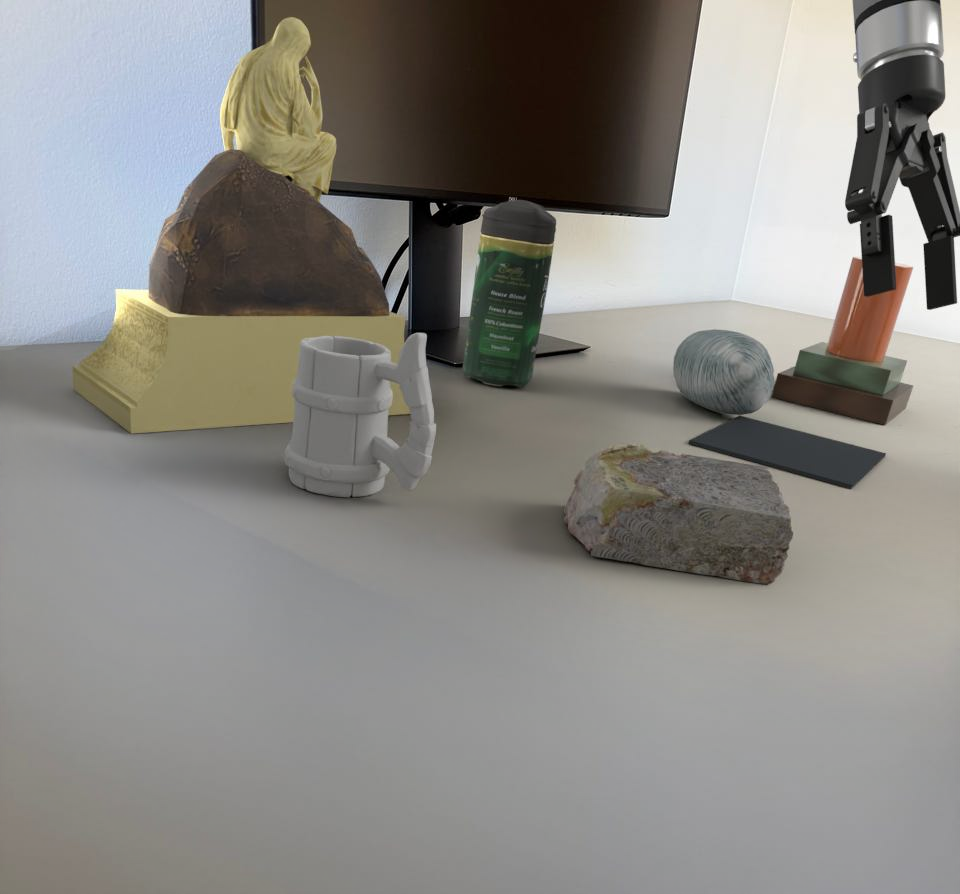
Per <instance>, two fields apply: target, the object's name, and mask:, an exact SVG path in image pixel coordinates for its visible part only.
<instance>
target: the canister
mask: <svg viewBox="0 0 960 894" xmlns="http://www.w3.org/2000/svg"><path fill="white" fill-rule="evenodd" d="M913 270H914V266H912V265H908V264H905V263H901V262H896V261H895V273H896V289H895V290H892V291H888V292H884V293H880V294H877V295H873V296H869V297H866V296H864V287H863V270H862V256H852V259H851V262H850V266H849V268H848V272H847V276H846V279H845V283H844V286H843V289H842V293H841V297H840V300H839V303H838V307H837V310H836V314H835V317H834V321H833V323H832V326H831V331H830V334H829V338H828V341H827V343H828V344H827V348H826V351H828V352H830V353H832V354H835V355H838V356H842V357H846V358H850V359H855V360H861V361H868V362H882V361H884V358H885V356H887V355H886V354H887V351H888V348H889V346H890V343H891V339H892V336H893V333H894V330H895V326H896V323H897V320H898V318H899V314H900V310H901V307H902V306H903V305H902V304H903V301H904V298H905V295H906V292H907V289H908V286H909V282H910V279H911V277H912V273H913Z"/></svg>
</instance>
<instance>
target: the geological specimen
mask: <svg viewBox="0 0 960 894" xmlns="http://www.w3.org/2000/svg"><path fill="white" fill-rule="evenodd" d="M768 467H769V466H764V465H756V464H750V463H744V462H738V461H731V460H723V459H719V458H711V457H705V456H698V455H692V454H687V453H681V454H680V455H678V454H675V453H673V452H670V451H668V450H663V449H661V450H659V451H656V452H653V451H651V450H649V449H648V447H646V446H645V445H644V444H641V443H630V442H621V443H619V444H615V445H610V446H607V447H603V448H601V449H599V450H597V451H595V452H594V453H593V454H592V455H591V456H589V457H588V458H587V459H586V460H585V461H584V467H583V468H582V469H580V471H579V472H578V473H577V475H576V476H575V477H574V480H573V481H574V487H573V490H572V492H571V494H570V496H569V497H568V500H567V502H566V504H565V505H564V506H563V509H564V511H563V513H564V514H565V516H564V519H563V522H564V523H565V524H566V525H567V530H568V532H569V534H571V535H572V536H574V537H575V538H576V539H577V540H578V541H579V542H580V543H581V544H582V545H583V546H584V547H585V549H586V550H587V551H588V552H590V556H591V557H595V558H596V557H597V558H601V559H609V560H614V561H619V562H620V561H621V562H628V563H634V564H639V565H643V566H648V567H654V568H660V569H667V570H674V571H679V572H684V573H691V574H697V575H698V574H699V575H705V576H714V577H715V576H716V577H719V578H723V579H724V578H725V579H730V580H735V581H740V582H746V583H747V582H748V583H753V584H754V583H755V584H761V585H770V584H773V583H774V582H775V581H776V578H778V577H779V576H780V574H782V572H783V570H784V569H785V566H786V560H787V559H788V557H789V554H788V551H789V550H790V544H791V541H792V540H793V537H794V532H793V530H792V524H791V523H792V518H791V516H790V507H789V506H788V505H787V504H785V500H784V495H783V493H782V491H781V489H780V486H779V484H778V483H776V482H775V481H774V480H773V475H772V473H771V471H770V469H769V468H768Z"/></svg>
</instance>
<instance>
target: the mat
mask: <svg viewBox="0 0 960 894" xmlns="http://www.w3.org/2000/svg"><path fill="white" fill-rule="evenodd" d="M688 445H691V446H696V447H699V448H702V449H706V450H709V451H714V452H717V453H720V454H724V455H727V456H731V457H735V458H739V459H742V460H746V461H748V462H752V463H756V464H759V465H762V466H766V467H771V468H774V469H777V470H782V471H784V472H788V473H792V474H795V475H799V476H802V477H806V478H810V479H814V480H818V481H821V482H825V483H829V484H832V485H835V486H839V487H842V488H846V489H850V490H851V489H852V490H853V488H854V487H855V486H857V484H858V483H859V482H860V481H861V480H862V479H863V478H864V477H865V476H867V475H868V474H869V473H870V472H871V471H872V470H873V469H874V468H875V467H876V466H877V465H878V464H879V463H880V462H881V461H882V460H884V458H886V454H887V453H886V452H883V451H878V450H875V449H871V448H867V447H863V446H859V445H855V444H851V443H847V442H844V441H840V440H836V439H833V438H829V437H825V436H821V435H817V434H814V433H808V432H805V431H801V430H797V429H793V428H789V427H786V426H782V425H778V424H774V423H770V422H767V421H766V422H765V421H763V420H760V419H759V420H758V419H755V418H751V417H748V416H744V415H737V416H736V417H734V418H731V419H730V420H727V421H725V422H724V423H721V424H720V425H717V426H715V427H713V428H711V429H708V430H707V431H705V432H703V433H701V434H698V435H696V436H695V437H693V438H690V439H689V440H688Z"/></svg>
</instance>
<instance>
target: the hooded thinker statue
mask: <svg viewBox="0 0 960 894" xmlns="http://www.w3.org/2000/svg"><path fill="white" fill-rule="evenodd" d="M311 45H312V41H311V36H310V32H309V29H308V28H307V26H306V24H305V23H304V22H303V21H302V20H301V19H299V18H296V17H293V16H289V17H286V18H285V17H284V19H281V21H280V22H279V23H278V25H277V26H276V28H275V31H274V34H273V36H272V37H271V39H269V41H267V42H266V43H265V44H263V45H261V46H259V47H256V48H254V49H252V50H250V51H248V52H247V53H245V54H244V55H242V57H241V58H240V60H239V61H238V63H237V65H236V67H235V68H234V70H233V71H232V73H231V76H230V78H229V80H228V82H227V86H226V89H225V92H224V95H223V98H222V101H221V103H220V104H221V105H220V108H219V109H220V110H219V124H220V130H221V136H222V144H223V148H224V151H222V152H219V153H217V154H215V155H214V156H213V157H212V158H211V159H210V160H209V161H208V163H207V164H206V165H205V166H204V167H203V168H202V169H201V171H200V172H199V173H198V174H197V175H196V176H195V178H193V180H192V181H191V182H190V183H188V185H187V187H186V188H185V189H184V191H183V193H182V196H181V198H180V200H179V203H178V204H177V208H176V210H175V212H174V213H172V214H171V215H170V216H168V217H166V218H165V219H164V220H163V223H162V226H161V228H160V232H159V235H158V238H157V241H156V243H155V246H154V249H153V252H152V255H151V257H150V260H149V264H148V289H115V305H116V306H115V307H116V309H115V313H114V318H113V322H112V328H111V329H110V331H109V333H108V334H107V336H106V337H105V338H104V340H103V341H102V343H101V345H100V346H98V347H97V348H96V349H95V350H93V351H92V352H91V353H90V354H89V355H87V356H86V357H85V358H83V359H82V360H81V361H80V362H79V365H72V383H73V391H75V392H76V393H77V394H78V395H80V396H81V397H82V398H83V399H85V400H86V401H87V402H89V403H90V404H92V405H93V406H94V407H95V408H97V409H98V410H99V411H101V412H102V413H104V415H106V416H107V417H108V418H110V419H111V420H113V421H114V422H115V423H116V424H118V425H119V426H120V427H122V428H123V429H124V430H125V431H126V432H128V433H129V434H131V435H132V434H146V433H147V434H148V433H160V432H175V431H189V430H202V429H203V430H204V429H217V428H231V427H246V426H258V425H259V426H261V425H272V424H286V423H287V424H288V423H293V416H294V405H295V398H294V397H293V396H292V385H293V381H294V380H295V379H296V378H297V370H298V358H299V347H300V341H301V340H303V339H304V338H312V337H321V336H331V337H332V338H333V337H334V336H342V337H350V338H356V339H361V340H366V341H370V342H373V343H378V344H380V345H383V346H385V347H386V348H388V349H389V350H390V351H391V362H392V363H395V364H397V365H398V358H399V353H400V350H401V348H402V346H403V344H404V343H405V327H406V325H405V324H406V318H407V317H405V316H402V315H400V314H397V313H395V312H392V311H390V303H389V300H388V298H387V294H386V292H385V289H384V284H383V282H382V278H381V275H380V274H379V272H378V270H377V268H376V267H375V265H374V264H373V262H372V261H371V259H370V257H369V256H368V254H367V253H366V251H365V250H364V248H362V247H361V246H358V244H357V241H356V237H355V235H354V233H353V229H351V227H350V226H348V225H347V224H346V223H345V222H344V221H342V220H341V219H340V218H339V217H338V216H336V215H335V214H334V213H333V212H331V210H330V209H328V208H327V207H326V206H325V205H323V204H322V203H321V199H322V195H323V194H322V193H324V194H326V195H328V194H329V188H330V183H331V178H332V171H333V165H334V159H335V156H336V153H337V138H336V137H335V135H333V134H332V133H329V132H327V131H321V130H322V125H323V116H324V115H323V114H324V113H323V106H322V98H321V91H320V85H319V81H318V79H317V77H316V74H315V72H314V69H313V66H312V65H311V62H310V61H309V58H308V56H307V53H308V51H309V50H310V47H312V46H311ZM302 59H305V62H306V66H304V65H303V66H302V67H300V62H301V61H302ZM300 71H303V72H302V74H300ZM301 77H302V78H301ZM304 77H305V78H306V80H307V82H308V84H309V86H310V89H311V103H310V101H309V99H308V97H307V94H306V90H305V87H304V84H303V83H302V79H304ZM234 136H235V146H236V149H235V146H234ZM399 386H400V384H398V383H395V382H392V381H390V388H391V390H392V392H393V399H392V405H391V406H390V408H389V409H388V416H400V415H411V414H410V411H409V407H408V406H407V405H406V403H405V401H404V398H403V395H402V392H401V390H400V388H399Z"/></svg>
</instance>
